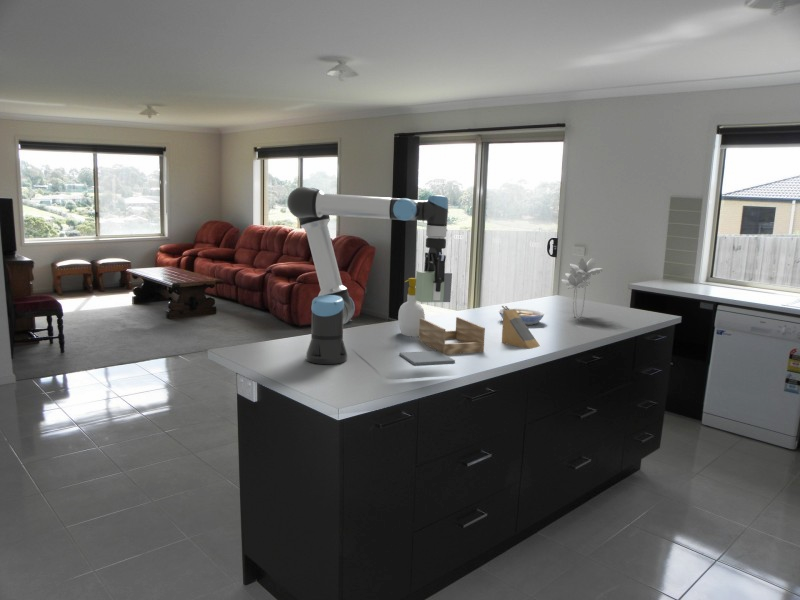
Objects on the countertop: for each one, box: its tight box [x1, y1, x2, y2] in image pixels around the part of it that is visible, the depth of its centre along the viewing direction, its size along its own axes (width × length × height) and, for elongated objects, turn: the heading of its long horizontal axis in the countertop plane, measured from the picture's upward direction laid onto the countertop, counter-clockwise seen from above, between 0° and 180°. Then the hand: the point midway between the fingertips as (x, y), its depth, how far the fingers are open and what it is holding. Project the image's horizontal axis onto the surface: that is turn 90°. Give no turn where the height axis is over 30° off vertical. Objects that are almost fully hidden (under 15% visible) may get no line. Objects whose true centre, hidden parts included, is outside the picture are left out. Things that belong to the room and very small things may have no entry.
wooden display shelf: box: [418, 316, 486, 355], centre depth 247 cm, size 18×25×10 cm
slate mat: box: [399, 350, 456, 366], centre depth 225 cm, size 16×16×1 cm
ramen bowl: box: [498, 305, 545, 326], centre depth 300 cm, size 25×23×8 cm
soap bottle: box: [397, 277, 426, 338], centre depth 264 cm, size 14×9×26 cm, turn 45°
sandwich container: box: [501, 309, 541, 350], centre depth 252 cm, size 9×15×15 cm, turn 44°
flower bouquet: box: [560, 256, 604, 318], centre depth 315 cm, size 17×34×21 cm
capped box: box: [415, 270, 453, 303], centre depth 225 cm, size 12×6×11 cm, turn 112°
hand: (432, 298), depth 226 cm, fingers closed on capped box, 6 cm apart
